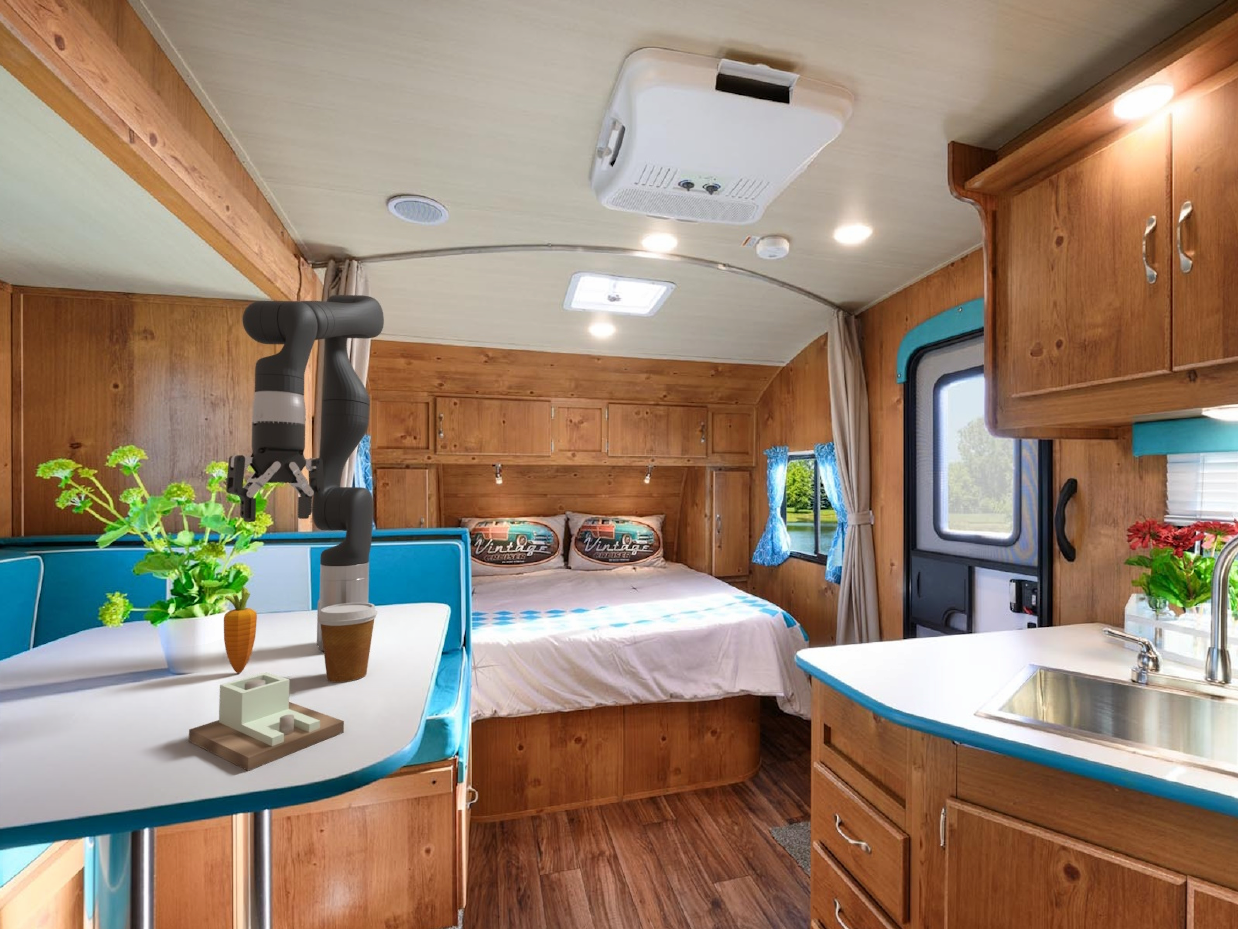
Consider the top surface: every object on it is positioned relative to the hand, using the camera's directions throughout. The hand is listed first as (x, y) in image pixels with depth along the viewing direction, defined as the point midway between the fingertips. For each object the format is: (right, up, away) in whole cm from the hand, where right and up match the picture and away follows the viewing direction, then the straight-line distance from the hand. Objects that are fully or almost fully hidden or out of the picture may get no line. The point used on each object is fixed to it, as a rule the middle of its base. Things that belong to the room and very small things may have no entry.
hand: (277, 520), depth 92 cm
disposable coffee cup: (+8, -28, +7) cm, 30 cm away
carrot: (-12, -29, +8) cm, 32 cm away
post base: (+9, -27, -17) cm, 33 cm away
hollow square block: (+9, -26, -17) cm, 32 cm away
